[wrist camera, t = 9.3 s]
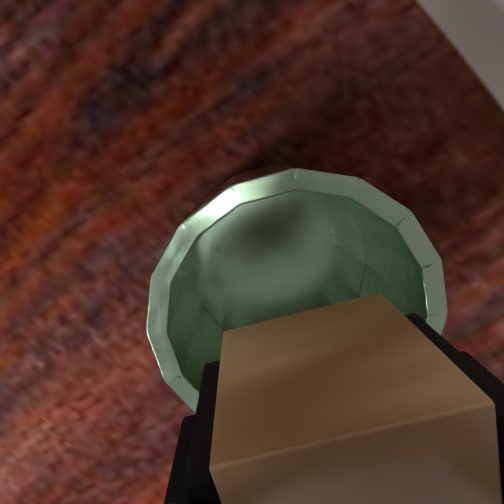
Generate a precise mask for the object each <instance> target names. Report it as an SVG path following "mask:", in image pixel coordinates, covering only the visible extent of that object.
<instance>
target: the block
mask: <svg viewBox="0 0 504 504" xmlns="http://www.w3.org/2000/svg"><path fill="white" fill-rule="evenodd" d="M209 470H210V473H211V475H212V478H213V481H214V484H215V487H216V489H217V492H218V495H219V498H220V500H221V503H222V504H503V500H502V488H501V475H500V463H499V450H498V438H497V426H496V413H495V404H494V402H493V401H492V400H491V399H490V398H489V397H488V396H487V395H486V394H485V393H484V392H483V391H482V390H481V389H480V388H479V387H478V386H477V385H476V384H475V383H474V382H473V381H472V380H471V379H470V378H468V377H467V376H466V375H465V374H464V373H463V372H462V371H461V370H460V369H459V368H458V367H457V366H456V365H455V364H454V363H453V362H452V361H451V360H450V359H449V358H448V357H447V356H446V355H445V354H444V353H443V352H442V351H441V350H440V349H438V348H437V347H436V346H435V345H434V344H433V343H432V342H431V341H430V340H429V339H428V338H427V337H426V336H425V335H424V334H423V333H422V332H421V331H420V330H419V329H418V328H417V327H416V326H415V325H414V324H413V323H412V322H411V321H410V320H408V319H407V318H406V317H405V316H404V315H403V314H402V313H401V312H400V311H399V310H398V309H397V308H396V307H395V306H394V305H393V304H392V303H391V302H390V301H389V300H388V299H387V298H386V297H385V296H384V295H383V294H382V293H377V294H373V295H369V296H365V297H361V298H357V299H353V300H349V301H344V302H340V303H336V304H332V305H328V306H324V307H320V308H316V309H312V310H308V311H304V312H300V313H296V314H292V315H288V316H283V317H279V318H275V319H271V320H267V321H263V322H259V323H255V324H251V325H247V326H243V327H239V328H235V329H231V330H227V331H224V332H223V339H222V348H221V358H220V368H219V378H218V387H217V397H216V407H215V417H214V426H213V436H212V446H211V456H210V465H209Z"/></svg>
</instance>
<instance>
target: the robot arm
mask: <svg viewBox="0 0 504 504" xmlns="http://www.w3.org/2000/svg"><path fill="white" fill-rule="evenodd" d="M404 316H405V317H406V318H407V319H408V320H410V321H411V322H412V323H413V324H414V325H415V326H416V327H417V328H418V329H419V330H420V331H421V332H422V333H423V334H424V335H425V336H426V337H427V338H428V339H429V340H430V341H431V342H432V343H433V344H434V345H435V346H436V347H437V348H438V349H440V350H441V351H442V352H443V353H444V354H445V355H446V356H447V357H448V358H449V359H450V360H451V361H452V362H453V363H454V364H455V365H456V366H457V367H458V368H459V369H460V370H461V371H462V372H463V373H464V374H465V375H466V376H467V377H468V378H470V379H471V380H472V381H473V382H474V383H475V384H476V385H477V386H478V387H479V388H480V389H481V390H482V391H483V392H484V393H485V394H486V395H487V396H488V397H489V398H490V399H491V400H492V401H493V402H494V404H495V413H496V426H497V438H498V450H499V463H500V475H501V488H502V500H503V504H504V384H503V383H502V382H501V381H500V380H499V379H497V378H496V377H495V376H494V375H493V374H492V373H490V372H489V371H488V370H487V369H486V368H485V367H484V366H482V365H481V364H480V363H479V362H478V361H477V360H475V359H474V358H473V357H472V356H471V355H469V354H468V353H466V352H464V351H460V352H459V351H458V350H456V349H455V348H454V347H453V346H452V345H451V344H450V343H449V342H448V341H446V340H445V339H444V338H443V337H442V336H441V335H440V334H439V333H437V332H436V331H435V330H434V329H433V328H432V327H431V326H430V325H428V324H427V323H426V322H425V321H424V320H423V319H422V318H421V317H420V316H418V315H417V314H416V313H412V314H407V315H404ZM219 368H220V360H218V361H214V362H210V363H206V364H205V365H204V369H203V375H202V380H201V386H200V392H199V397H198V403H197V409H196V414H195V415H191V416H187V417H185V418H184V419H183V421H182V425H181V429H180V434H179V438H178V443H177V447H176V452H175V456H174V461H173V465H172V470H171V474H170V479H169V483H168V488H167V492H166V497H165V501H164V504H222V503H221V500H220V498H219V495H218V492H217V489H216V487H215V484H214V481H213V478H212V475H211V473H210V470H209V465H210V456H211V446H212V436H213V426H214V417H215V407H216V397H217V387H218V378H219Z"/></svg>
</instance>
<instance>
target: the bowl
mask: <svg viewBox="0 0 504 504" xmlns="http://www.w3.org/2000/svg"><path fill="white" fill-rule="evenodd" d="M377 293H382V294H383V295H384V296H385V297H386V298H387V299H388V300H389V301H390V302H391V303H392V304H393V305H394V306H395V307H396V308H397V309H398V310H399V311H400V312H401V313H402V314H403V315H407V314H412V313H416V314H417V315H418V316H420V317H421V318H422V319H423V320H424V321H425V322H426V323H427V324H428V325H430V326H431V327H432V328H433V329H434V330H435V331H436V332H437V333H439V334H440V335H441V334H442V331H443V327H444V324H445V321H446V318H447V313H448V311H447V303H446V294H445V285H444V276H443V267H442V260H441V258H440V256H439V254H438V253H437V251H436V250H435V248H434V246H433V245H432V243H431V242H430V240H429V238H428V237H427V235H426V234H425V232H424V230H423V229H422V227H421V226H420V224H419V222H418V221H417V219H416V217H415V216H414V214H413V213H412V211H410V210H409V209H408V208H407V207H405V206H403V205H402V204H400V203H399V202H397V201H396V200H394V199H393V198H391V197H389V196H388V195H386V194H385V193H383V192H382V191H380V190H379V189H377V188H375V187H374V186H372V185H371V184H369V183H368V182H366V181H365V180H363V179H361V178H358V177H356V176H350V175H344V174H338V173H332V172H326V171H320V170H314V169H307V168H300V167H294V166H287V165H280V164H273V165H270V166H266V167H262V168H257V169H253V170H250V171H247V172H243V173H239V174H236V175H235V176H232V177H231V178H229V179H228V180H227V181H226V182H224V183H223V184H222V185H220V186H219V187H217V188H216V189H215V190H214V191H213V192H211V193H210V194H209V195H207V196H206V197H205V198H204V199H202V200H201V201H200V202H199V203H198V205H197V206H196V207H195V208H194V209H193V210H192V211H191V212H190V213H189V214H188V215H187V216H186V218H185V219H184V220H183V221H182V222H181V223H180V224H179V225H178V227H177V229H176V231H175V232H174V234H173V236H172V238H171V240H170V242H169V243H168V245H167V247H166V249H165V251H164V253H163V254H162V256H161V258H160V260H159V262H158V263H157V265H156V267H155V269H154V271H153V273H152V274H151V277H150V287H149V301H148V315H147V328H146V332H147V335H148V338H149V341H150V344H151V346H152V349H153V352H154V354H155V357H156V360H157V362H158V365H159V368H160V370H161V373H162V376H163V378H164V381H165V382H166V383H167V384H168V386H169V387H170V388H171V389H172V390H173V391H174V392H175V393H176V394H177V395H178V396H179V397H180V398H181V399H182V400H183V401H184V402H185V403H186V404H187V405H188V406H189V407H190V409H191V410H192V411H193V412H194V413H195V414H196V409H197V403H198V397H199V392H200V386H201V380H202V375H203V369H204V365H205V364H206V363H210V362H214V361H218V360H220V358H221V348H222V339H223V332H224V331H227V330H231V329H235V328H239V327H243V326H247V325H251V324H255V323H259V322H263V321H267V320H271V319H275V318H279V317H283V316H288V315H292V314H296V313H300V312H304V311H308V310H312V309H316V308H320V307H324V306H328V305H332V304H336V303H340V302H344V301H349V300H353V299H357V298H361V297H365V296H369V295H373V294H377Z"/></svg>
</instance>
